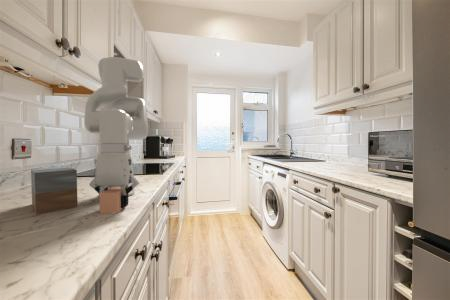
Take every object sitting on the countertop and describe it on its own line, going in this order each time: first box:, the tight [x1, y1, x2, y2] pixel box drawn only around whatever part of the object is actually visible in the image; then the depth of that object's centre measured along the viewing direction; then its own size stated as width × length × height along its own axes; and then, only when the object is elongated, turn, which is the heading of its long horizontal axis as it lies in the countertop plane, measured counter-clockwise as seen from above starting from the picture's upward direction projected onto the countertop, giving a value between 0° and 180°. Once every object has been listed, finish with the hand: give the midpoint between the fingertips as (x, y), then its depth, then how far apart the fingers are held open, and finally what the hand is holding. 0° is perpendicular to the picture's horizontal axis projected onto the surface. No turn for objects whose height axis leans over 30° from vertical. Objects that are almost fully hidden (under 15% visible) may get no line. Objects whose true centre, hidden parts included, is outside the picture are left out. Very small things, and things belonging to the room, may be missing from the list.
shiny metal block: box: [30, 166, 79, 215], centre depth 68 cm, size 14×10×12 cm
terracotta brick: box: [98, 187, 124, 214], centre depth 65 cm, size 8×5×6 cm, turn 3°
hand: (114, 206), depth 65 cm, fingers closed on terracotta brick, 5 cm apart
